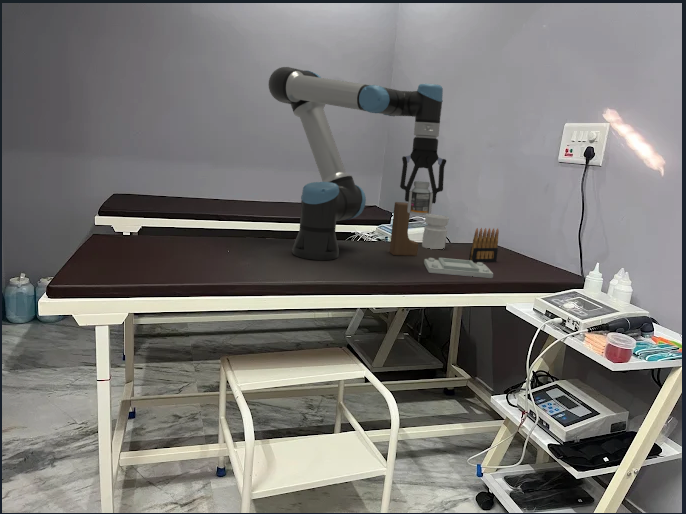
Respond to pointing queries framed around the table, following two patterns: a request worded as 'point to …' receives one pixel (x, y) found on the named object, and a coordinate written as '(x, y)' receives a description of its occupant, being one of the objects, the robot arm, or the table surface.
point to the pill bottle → (420, 198)
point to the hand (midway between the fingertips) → (419, 212)
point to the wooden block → (401, 232)
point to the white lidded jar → (435, 231)
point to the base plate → (457, 267)
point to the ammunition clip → (484, 246)
